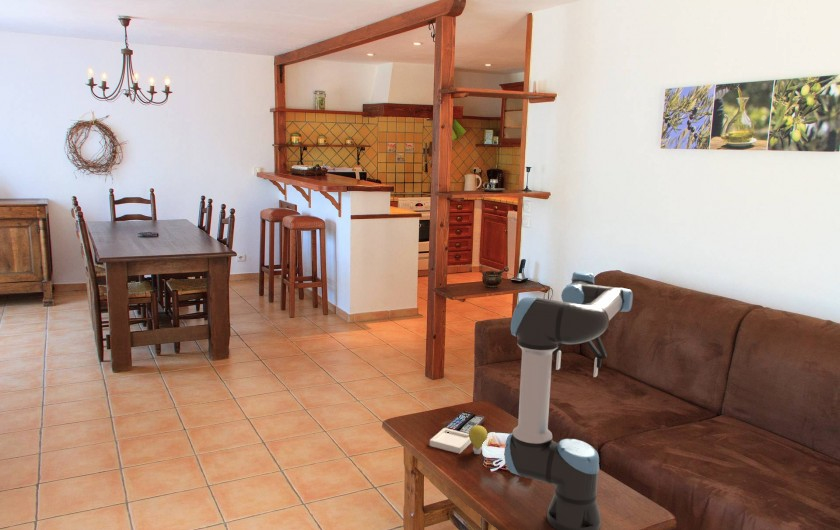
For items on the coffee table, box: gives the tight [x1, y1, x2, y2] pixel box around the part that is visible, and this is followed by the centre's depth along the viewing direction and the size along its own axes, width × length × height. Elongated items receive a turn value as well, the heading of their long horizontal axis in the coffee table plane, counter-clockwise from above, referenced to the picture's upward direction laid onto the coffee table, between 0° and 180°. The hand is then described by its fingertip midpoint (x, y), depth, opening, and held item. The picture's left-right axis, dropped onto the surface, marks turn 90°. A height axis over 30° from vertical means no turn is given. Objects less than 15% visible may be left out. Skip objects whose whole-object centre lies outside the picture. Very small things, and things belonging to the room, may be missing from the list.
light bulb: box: [468, 425, 489, 455], centre depth 225 cm, size 7×7×10 cm
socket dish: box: [429, 427, 472, 454], centre depth 233 cm, size 12×12×2 cm
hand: (576, 372), depth 229 cm, fingers open, 13 cm apart
